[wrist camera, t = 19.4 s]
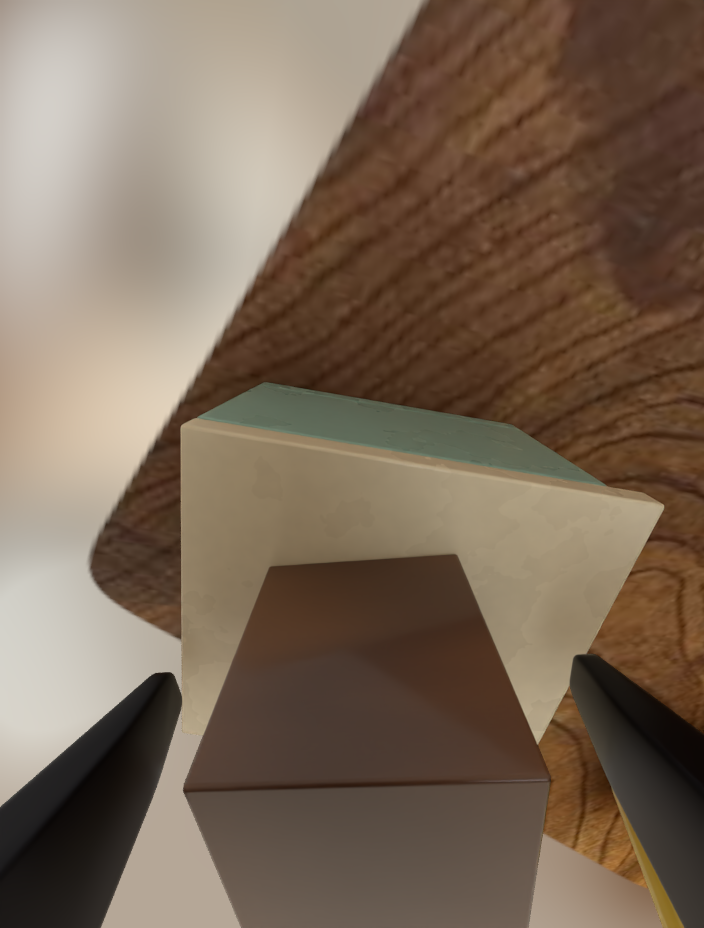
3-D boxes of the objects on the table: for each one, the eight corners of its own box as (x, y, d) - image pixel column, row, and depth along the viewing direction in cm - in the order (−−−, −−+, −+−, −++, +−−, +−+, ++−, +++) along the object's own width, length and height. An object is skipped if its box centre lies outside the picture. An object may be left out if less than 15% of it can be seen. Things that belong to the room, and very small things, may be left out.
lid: (644, 491, 8) (668, 505, 8) (510, 755, 12) (520, 781, 11) (193, 416, 8) (178, 424, 7) (191, 710, 11) (180, 734, 11)
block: (458, 552, 8) (554, 778, 4) (456, 690, 10) (526, 955, 6) (268, 565, 8) (179, 790, 4) (297, 697, 10) (251, 955, 6)
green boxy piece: (512, 424, 14) (610, 486, 8) (448, 617, 17) (487, 752, 12) (263, 381, 13) (195, 416, 8) (247, 586, 17) (192, 709, 11)
